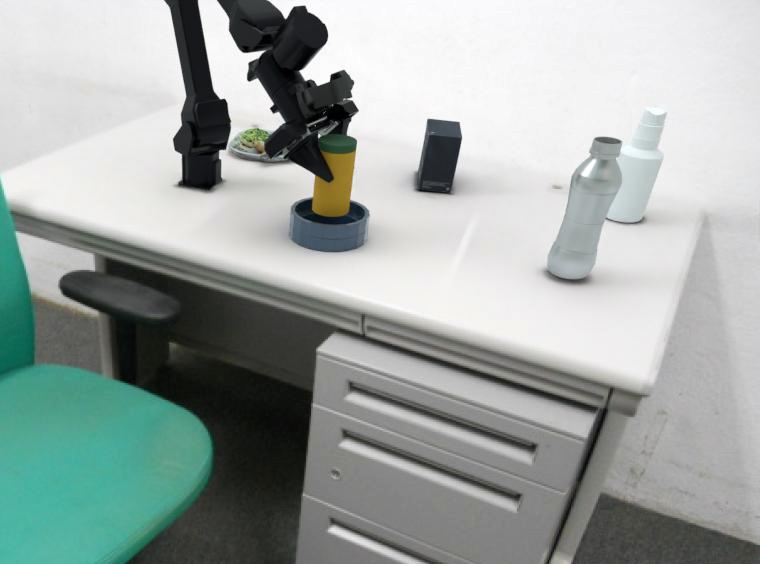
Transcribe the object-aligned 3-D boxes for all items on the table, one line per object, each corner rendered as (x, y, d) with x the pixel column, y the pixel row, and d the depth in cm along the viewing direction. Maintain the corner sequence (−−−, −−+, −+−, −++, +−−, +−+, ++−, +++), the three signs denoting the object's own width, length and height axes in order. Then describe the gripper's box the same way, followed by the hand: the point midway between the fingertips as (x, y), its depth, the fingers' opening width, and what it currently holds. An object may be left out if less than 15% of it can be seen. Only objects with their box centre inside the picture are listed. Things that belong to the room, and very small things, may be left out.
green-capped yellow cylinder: (307, 213, 120) (313, 142, 114) (318, 200, 125) (325, 131, 118) (342, 219, 119) (351, 148, 112) (353, 206, 123) (361, 137, 116)
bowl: (277, 247, 122) (279, 217, 119) (303, 220, 131) (305, 191, 128) (353, 262, 118) (357, 231, 115) (374, 233, 127) (378, 203, 124)
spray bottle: (640, 211, 137) (676, 106, 126) (643, 225, 131) (682, 117, 121) (598, 206, 138) (631, 102, 128) (600, 220, 133) (635, 112, 122)
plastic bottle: (536, 266, 118) (572, 133, 106) (578, 265, 118) (619, 133, 107) (554, 285, 113) (595, 148, 101) (598, 284, 113) (644, 147, 101)
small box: (452, 194, 142) (464, 136, 136) (417, 191, 143) (426, 133, 137) (450, 175, 151) (461, 120, 144) (416, 172, 152) (426, 117, 145)
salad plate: (302, 172, 151) (304, 148, 148) (216, 161, 155) (216, 138, 152) (322, 143, 166) (324, 121, 163) (243, 134, 170) (244, 113, 167)
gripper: (285, 64, 104) (347, 162, 105) (354, 43, 116) (409, 131, 117) (237, 113, 113) (295, 203, 114) (306, 88, 125) (358, 171, 126)
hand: (341, 175), depth 118 cm, fingers closed on green-capped yellow cylinder, 6 cm apart
